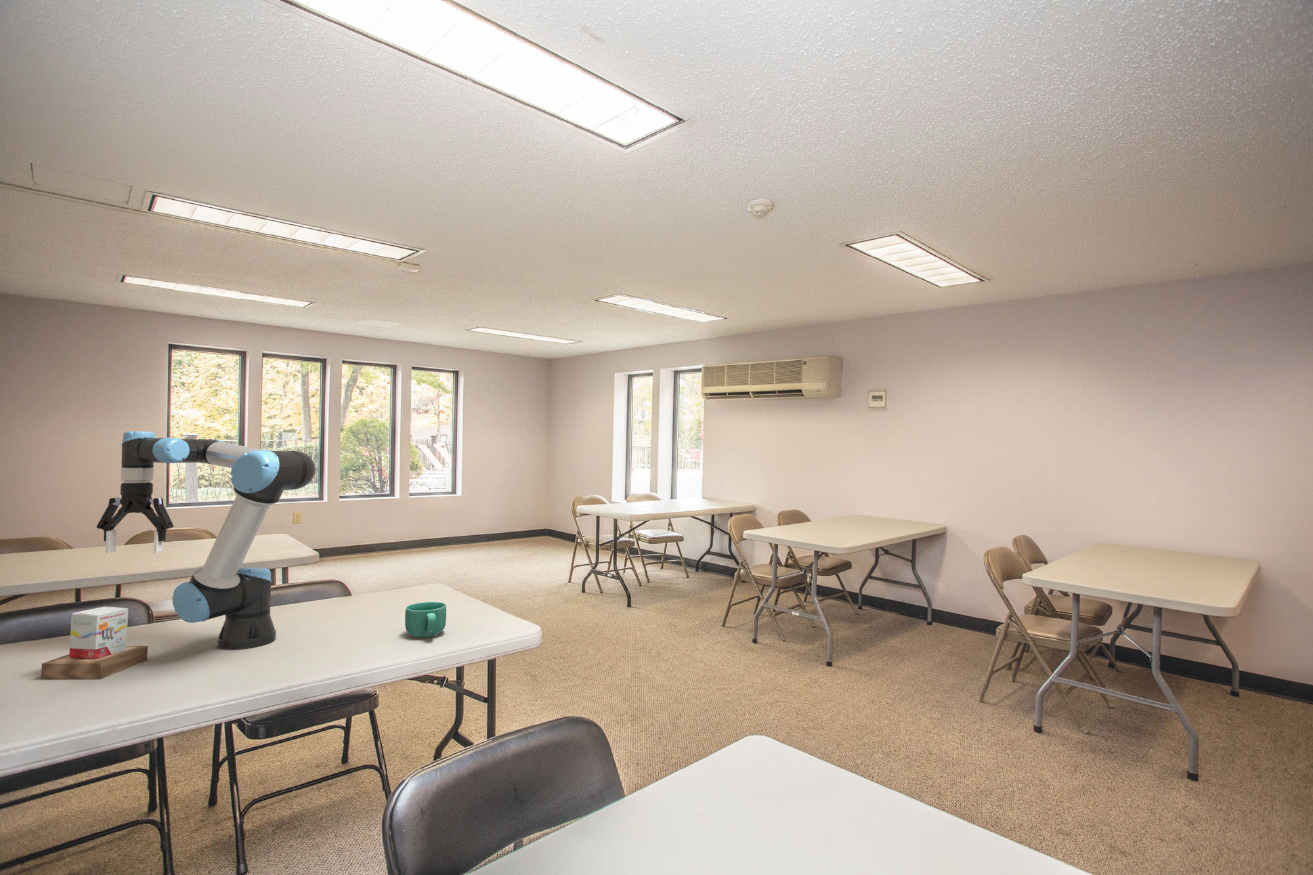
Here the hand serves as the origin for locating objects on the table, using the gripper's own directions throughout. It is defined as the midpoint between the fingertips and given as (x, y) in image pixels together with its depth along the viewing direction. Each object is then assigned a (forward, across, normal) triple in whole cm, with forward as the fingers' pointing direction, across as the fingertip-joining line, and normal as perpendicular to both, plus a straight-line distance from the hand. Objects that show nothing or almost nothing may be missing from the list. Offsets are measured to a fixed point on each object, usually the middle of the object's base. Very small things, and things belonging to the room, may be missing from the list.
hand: (134, 552), depth 185 cm
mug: (+29, -85, -7) cm, 90 cm away
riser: (+28, -5, +19) cm, 35 cm away
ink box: (+25, -6, +19) cm, 32 cm away
